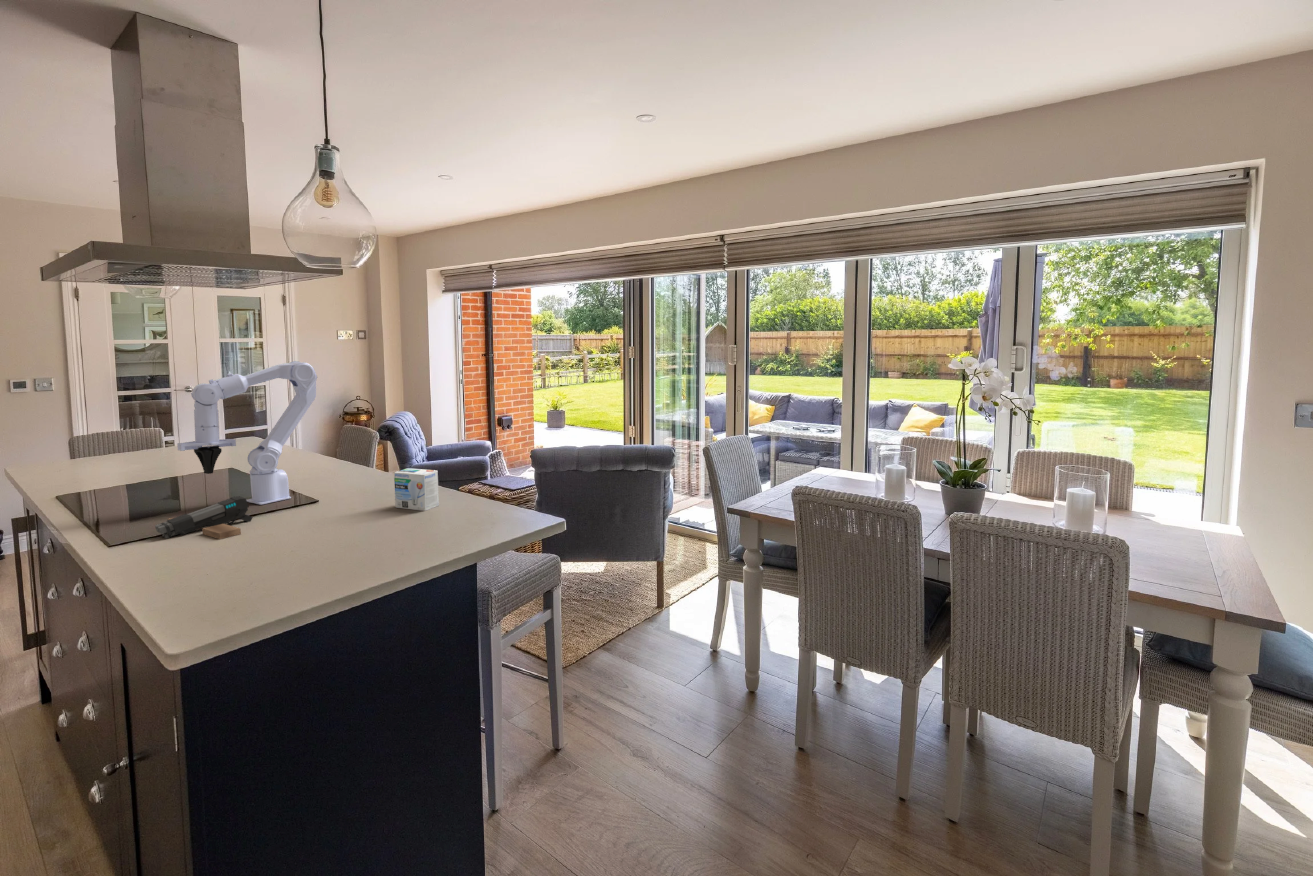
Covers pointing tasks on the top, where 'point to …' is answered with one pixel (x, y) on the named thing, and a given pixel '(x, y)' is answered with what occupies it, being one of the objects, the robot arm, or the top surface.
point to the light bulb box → (416, 489)
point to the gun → (206, 517)
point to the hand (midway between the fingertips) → (208, 473)
